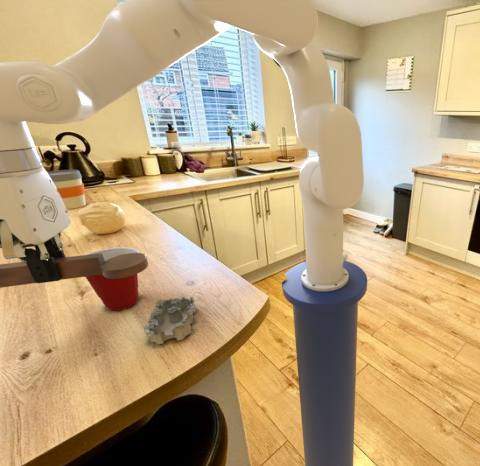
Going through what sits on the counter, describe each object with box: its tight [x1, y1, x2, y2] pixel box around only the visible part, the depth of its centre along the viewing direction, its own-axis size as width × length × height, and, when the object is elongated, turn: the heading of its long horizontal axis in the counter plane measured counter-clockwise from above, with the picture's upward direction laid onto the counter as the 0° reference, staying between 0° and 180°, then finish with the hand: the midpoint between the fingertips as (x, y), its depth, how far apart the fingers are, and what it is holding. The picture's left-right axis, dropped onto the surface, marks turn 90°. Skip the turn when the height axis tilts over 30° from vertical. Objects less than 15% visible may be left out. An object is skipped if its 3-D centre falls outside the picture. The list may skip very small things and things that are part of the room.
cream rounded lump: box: [77, 201, 127, 235], centre depth 101 cm, size 12×12×11 cm
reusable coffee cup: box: [46, 169, 87, 210], centre depth 126 cm, size 13×13×15 cm
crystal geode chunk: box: [143, 296, 196, 345], centre depth 58 cm, size 11×8×4 cm
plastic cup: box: [85, 247, 141, 311], centre depth 63 cm, size 11×11×12 cm
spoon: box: [0, 252, 149, 289], centre depth 47 cm, size 20×6×3 cm, turn 109°
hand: (54, 276), depth 47 cm, fingers closed on spoon
